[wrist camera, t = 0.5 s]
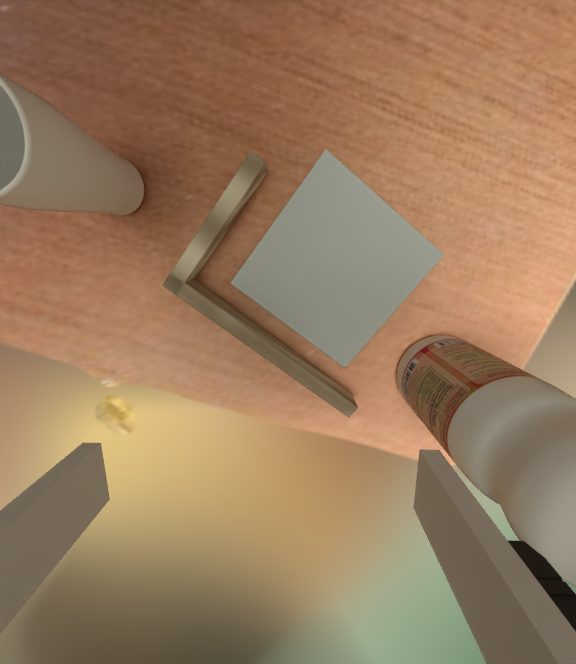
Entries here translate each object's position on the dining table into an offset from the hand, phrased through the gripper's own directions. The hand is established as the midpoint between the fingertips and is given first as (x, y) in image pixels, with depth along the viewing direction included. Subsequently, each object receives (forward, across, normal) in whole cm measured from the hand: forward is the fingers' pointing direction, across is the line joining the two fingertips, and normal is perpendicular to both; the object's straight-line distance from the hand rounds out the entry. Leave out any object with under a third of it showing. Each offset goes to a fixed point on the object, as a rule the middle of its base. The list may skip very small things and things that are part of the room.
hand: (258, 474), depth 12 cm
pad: (+22, +6, +8) cm, 24 cm away
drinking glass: (+21, -16, +16) cm, 31 cm away
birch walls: (+22, +2, +5) cm, 23 cm away
